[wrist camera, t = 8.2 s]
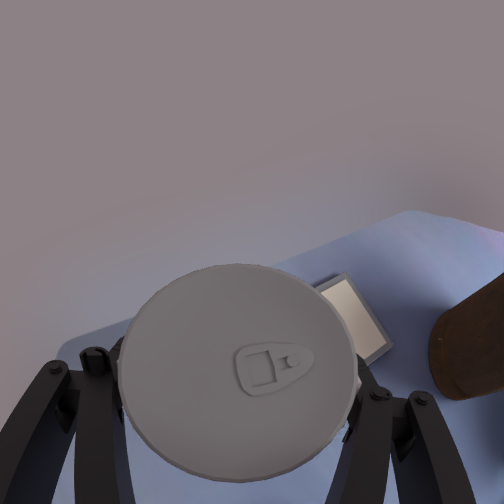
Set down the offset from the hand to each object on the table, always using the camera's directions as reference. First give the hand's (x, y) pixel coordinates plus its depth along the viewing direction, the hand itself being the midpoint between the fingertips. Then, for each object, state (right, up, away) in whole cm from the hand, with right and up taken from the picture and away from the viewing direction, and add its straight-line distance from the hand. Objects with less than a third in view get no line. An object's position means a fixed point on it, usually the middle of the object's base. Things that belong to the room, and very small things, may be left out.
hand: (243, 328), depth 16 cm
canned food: (0, -5, +2) cm, 5 cm away
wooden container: (+32, -11, +15) cm, 37 cm away
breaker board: (+8, -7, +15) cm, 19 cm away
